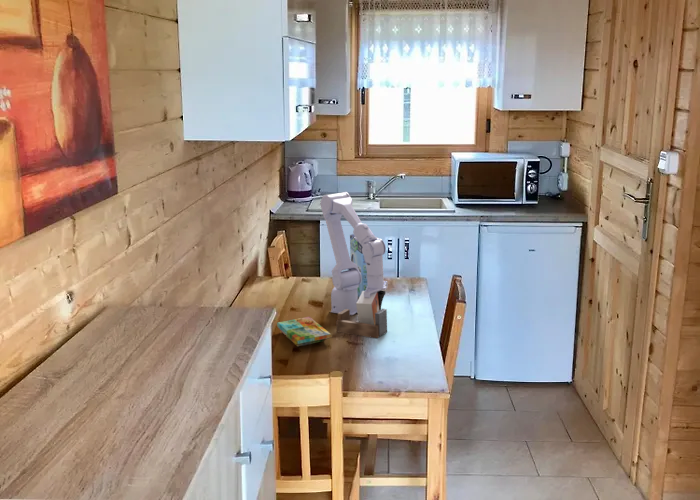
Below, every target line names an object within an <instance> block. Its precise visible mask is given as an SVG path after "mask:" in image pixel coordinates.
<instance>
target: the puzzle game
mask: <svg viewBox="0 0 700 500" xmlns="http://www.w3.org/2000/svg"><path fill="white" fill-rule="evenodd" d="M276 324H277V325H276V327H277V328H278V329H279V330H280V331H281V333H282V334H283V335H284V336H285V335H286V336H285V337H286V338H287V339H289V340H290V341H291V342H292V343H293V344H294V345H295V346H296V347H301V346H307V345H311V344H315V343H317V344H318V343H321V342H325V340H326V339H330V338H332V334H331V333H330V331H328V330H327V329H325V328H324V327H323V326H322V325H320V323H318V322H316V320H314V319H313V318H312V317H311V316H306V317H300V318H295V319H294V318H293V319H290V320H284V321H279V322H276Z"/></svg>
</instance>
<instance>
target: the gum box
mask: <svg viewBox="0 0 700 500" xmlns="http://www.w3.org/2000/svg"><path fill="white" fill-rule="evenodd" d="M349 241H350V242H349V243H350V244H349V245H350V246H349V247H350V248H349V249H350V251H349V257H350V261H352V262H353V263H355V264H357V267H358V269H359V271H360V273H361V276H362V281H361V283H360V284H359V287H358V288H357V294H358V298H359V297H360V295H361V293H362V291H365V290H366V288H367V286H368V284H367V267H366V262H365V259H364V255H363V253H362V248H363V247H362V246H361V244H360V243H359V241H358V240H357V238H356V237H355V235H354V234H353V233H352V234H349Z"/></svg>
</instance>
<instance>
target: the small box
mask: <svg viewBox="0 0 700 500" xmlns="http://www.w3.org/2000/svg"><path fill="white" fill-rule="evenodd" d="M356 306H357V313H356V314H357V318H358V322H359V323H366V324H372V325H375V313H377V312H378V311H380V310H379V301H378V293H377V292H374V293H371V295H370V297H369V298H366V297H364V291H362V293H361V295H360V297H358V301H357V303H356Z"/></svg>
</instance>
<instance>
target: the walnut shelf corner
mask: <svg viewBox="0 0 700 500" xmlns="http://www.w3.org/2000/svg"><path fill="white" fill-rule="evenodd" d="M335 322H336V325H335V326H336V332H337V333H342V334H343V333H344V334H348V335H355V336H360V337H366V338H372V339H378V338H380V337H379V325H372V324H366V323H359V321H351V315H350V310H349V309H345V310H343V311H341V312H340V313H337V320H336V321H335Z"/></svg>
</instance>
